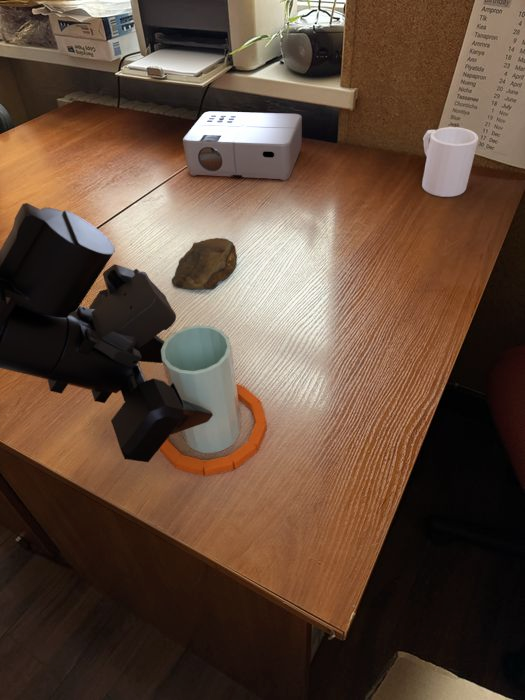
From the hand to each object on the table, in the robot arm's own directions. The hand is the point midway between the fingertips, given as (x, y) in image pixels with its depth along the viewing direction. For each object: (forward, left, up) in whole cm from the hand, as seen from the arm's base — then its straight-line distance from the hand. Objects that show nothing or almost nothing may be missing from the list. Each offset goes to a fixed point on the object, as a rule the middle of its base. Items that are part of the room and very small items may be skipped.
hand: (193, 386), depth 52 cm
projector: (+18, +69, -8) cm, 72 cm away
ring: (+1, 0, -8) cm, 8 cm away
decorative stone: (+4, +31, -8) cm, 33 cm away
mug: (+52, +48, -8) cm, 71 cm away
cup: (+1, 0, -8) cm, 8 cm away
